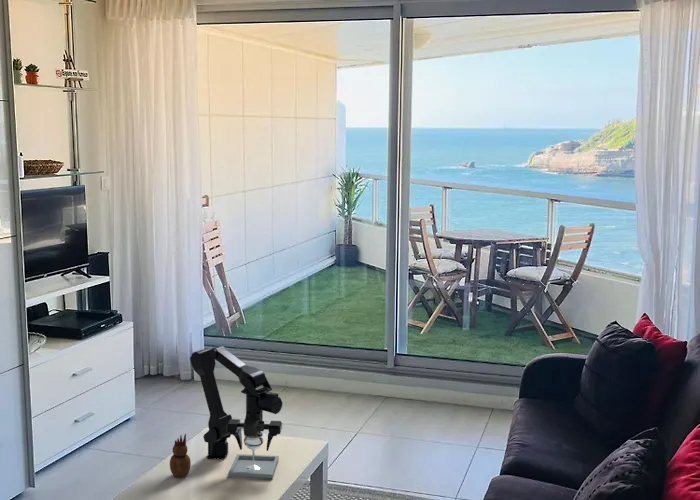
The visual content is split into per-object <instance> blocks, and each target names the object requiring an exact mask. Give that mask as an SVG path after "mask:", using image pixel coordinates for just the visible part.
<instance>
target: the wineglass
mask: <svg viewBox="0 0 700 500" xmlns="http://www.w3.org/2000/svg"><path fill="white" fill-rule="evenodd" d="M243 436H244V438H243V444H244V446H245V447H246V448H247V449H250V450H251V451H252V455H253V464H250V465H248V466H247V467H246V468H247V469H248V470H258V469H260V468H261V466H260V465H257V464H254V456H255V455H256V454H255V451H256V450H257V449H259V448H261V446H263V444H264V437H263V436H264V433H263V431H261V432H258V435H257V436H253V435H248V436H246V435H244V434H243Z"/></svg>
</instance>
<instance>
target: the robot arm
mask: <svg viewBox="0 0 700 500" xmlns="http://www.w3.org/2000/svg"><path fill="white" fill-rule="evenodd" d="M189 357H190V358H189V360H190V364H191V366H192V369H193V371H194V372H195V373H196V374H197V375H198V376H199V378H200V382H201V386H202V389H203V393H204V397H205V400H206V404H207V407H208V411H209V418H208V423H207V426H208V431H206V433H204V435H203V441H204V442H205V443H207V456H206V459H208V460H226V457H227V456H228V454H229V442H228V440H227V439H230V438H231V435H232V436H233V437H234V438H235V440H236V442H237V444H238V448H239V450H241V451H242V449H243V436H244V435H246V436H248V435H253V436H257V435H258V432H264V431H265V430H266V431H268V434H267V442H266V451H267V452H268V451H269V448H270V447H271V443H272V440H273V438H274V437H277V435H280V434H281V433H282V430H283V422H282V421H281V420H270V423H265V421H264V419H263V417H264V412H267V413H271V414H273V415H277V414H279V413H280V412H281V410H282V408H283V401H282V399H281V397H280V396H279V393H277V392H272V391H273V388H272V386H271V384H270V383H269V381H268V379H267V377H266V373H265V372H264V371H263V370H262V369H259V368H257V367H255V366H249V365H247V364H246V363H244V362H243V361H242V360H240V358H237V357H236V356H235V355H234V354H232V353H231V352H230V351H228V350H227V349H226V347H225V346H223V345H219V346H215V347H212V348H204V349H201V350H197V351H194V352H192V353H191V355H190V356H189ZM216 361H217V362H218V363H220V365H222V366H223V367H225V369H227V370H228V371H230V372H231V373H232V374H234V375H235V376H236V378H238V381H239V383H240V384H241V385H242V387H244V388H243V389H241V390H240V393H241V394H245V417H244V421H243V422H241V419H238V418H237V419H236V418H235V419H234V418H233V417H232V414H230V413H229V414H227V412H225V410H224V407H223V404H222V403H223V402H222V400H221V395H220V391H219V387H218V385H217V380H216V377H215V368H216ZM242 430H243V433H242ZM242 434H243V436H242Z"/></svg>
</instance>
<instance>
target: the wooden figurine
mask: <svg viewBox="0 0 700 500" xmlns="http://www.w3.org/2000/svg"><path fill="white" fill-rule="evenodd" d="M172 453H173V454H172V455H171V456H170V459H169V469H170V472H171V474H172V476H173V477H175V478H179V479H182V478H186V477H187V476H188V475H189V473H190V469H191V466H192V465H191V458H190V456H189V454H188V447H187V433H184V436H183V437H182V434H180V437H179V438H177V439H175V441H174V445H173V447H172Z"/></svg>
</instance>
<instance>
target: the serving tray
mask: <svg viewBox="0 0 700 500" xmlns="http://www.w3.org/2000/svg"><path fill="white" fill-rule="evenodd" d="M279 459H280V458H279V455H270V454H269V455H265V454H263V455H262V454H255V456H254V464H257V465H260V466H261V468H260V469H258V470H248V469H247V468H246V467H247V466H248V465H250V464H253V454H243V453H241V454H239V453H237V454H236V456H235V458H234V460H233V462H232V463H231V467H230V469H229V471H228V473H227V474H228V477H227V478H229V479H253V480H273V479H274V476H275V472H276V470H277V467H278V464H279Z"/></svg>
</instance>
